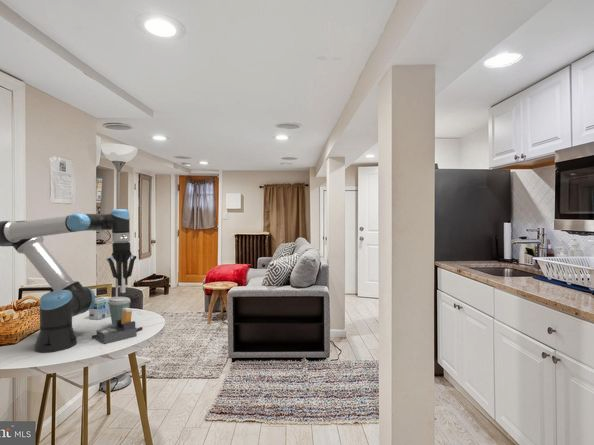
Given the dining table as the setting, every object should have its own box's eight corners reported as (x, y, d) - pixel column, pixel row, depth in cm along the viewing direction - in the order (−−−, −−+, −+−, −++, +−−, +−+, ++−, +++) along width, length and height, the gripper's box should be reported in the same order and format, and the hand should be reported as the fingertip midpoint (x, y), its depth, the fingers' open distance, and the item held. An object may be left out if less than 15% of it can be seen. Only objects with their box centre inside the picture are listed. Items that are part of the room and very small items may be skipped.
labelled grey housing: (104, 344, 158) (104, 328, 158) (96, 339, 165) (96, 323, 165) (136, 336, 168) (136, 321, 168) (127, 332, 175) (127, 317, 175)
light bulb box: (98, 320, 197) (98, 300, 197) (88, 319, 199) (88, 299, 199) (113, 315, 208) (113, 296, 207) (103, 314, 209) (103, 296, 209)
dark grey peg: (134, 332, 174) (134, 329, 174) (132, 332, 175) (132, 329, 175) (142, 329, 179) (142, 327, 179) (140, 329, 179) (140, 326, 179)
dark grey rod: (92, 338, 165) (92, 335, 165) (91, 338, 166) (91, 335, 166) (134, 329, 179) (134, 326, 179) (132, 329, 180) (132, 326, 180)
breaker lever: (125, 328, 167) (127, 309, 167) (120, 325, 170) (122, 308, 171) (130, 327, 168) (132, 309, 169) (125, 325, 172) (127, 307, 173)
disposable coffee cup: (132, 323, 190) (132, 295, 190) (128, 329, 180) (128, 299, 180) (111, 324, 188) (111, 296, 188) (105, 330, 177) (105, 300, 177)
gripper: (109, 243, 161) (110, 295, 161) (138, 241, 170) (140, 291, 170) (103, 242, 166) (105, 293, 166) (132, 241, 175) (133, 289, 175)
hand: (122, 292), depth 168 cm, fingers closed
